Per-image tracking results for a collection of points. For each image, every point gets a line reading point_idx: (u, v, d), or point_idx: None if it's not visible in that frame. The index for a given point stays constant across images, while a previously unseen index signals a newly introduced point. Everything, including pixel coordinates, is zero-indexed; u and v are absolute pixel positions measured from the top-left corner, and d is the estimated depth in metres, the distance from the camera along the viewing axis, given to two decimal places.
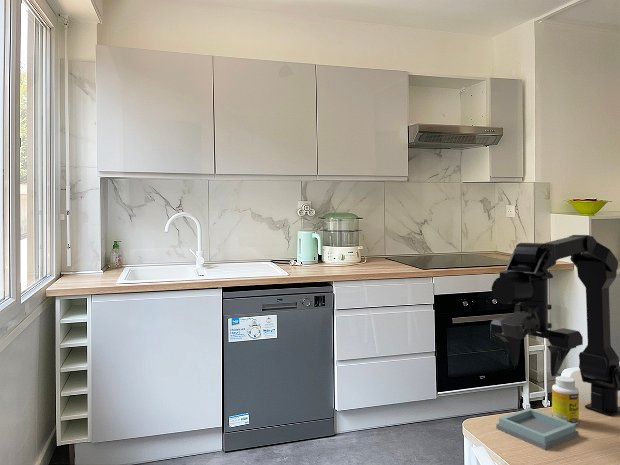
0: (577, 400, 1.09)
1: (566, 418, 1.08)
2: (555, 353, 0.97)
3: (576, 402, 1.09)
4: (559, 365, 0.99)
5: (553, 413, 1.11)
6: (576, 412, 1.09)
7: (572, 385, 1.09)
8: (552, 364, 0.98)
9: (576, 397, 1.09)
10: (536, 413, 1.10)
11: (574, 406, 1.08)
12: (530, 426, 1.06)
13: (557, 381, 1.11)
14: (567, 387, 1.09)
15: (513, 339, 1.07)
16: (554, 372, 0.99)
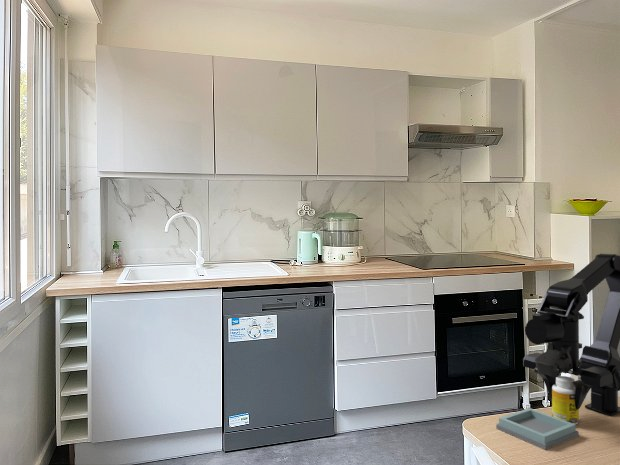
0: None
1: (566, 418, 1.08)
2: (579, 388, 1.06)
3: None
4: (583, 399, 1.08)
5: (553, 413, 1.11)
6: (576, 412, 1.09)
7: (572, 385, 1.09)
8: (576, 398, 1.07)
9: None
10: (536, 413, 1.10)
11: (574, 406, 1.08)
12: (530, 426, 1.06)
13: (557, 381, 1.11)
14: (567, 387, 1.09)
15: (551, 376, 1.14)
16: (578, 405, 1.08)
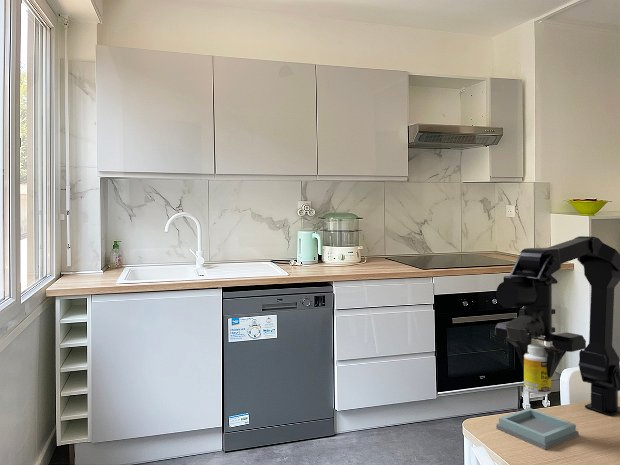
0: None
1: (538, 387, 1.03)
2: (551, 355, 1.01)
3: None
4: (555, 366, 1.03)
5: (525, 382, 1.06)
6: (548, 380, 1.03)
7: (544, 352, 1.04)
8: (548, 365, 1.02)
9: None
10: (536, 413, 1.10)
11: (546, 374, 1.03)
12: (530, 426, 1.06)
13: (529, 348, 1.05)
14: (539, 354, 1.04)
15: (524, 344, 1.08)
16: (550, 373, 1.02)
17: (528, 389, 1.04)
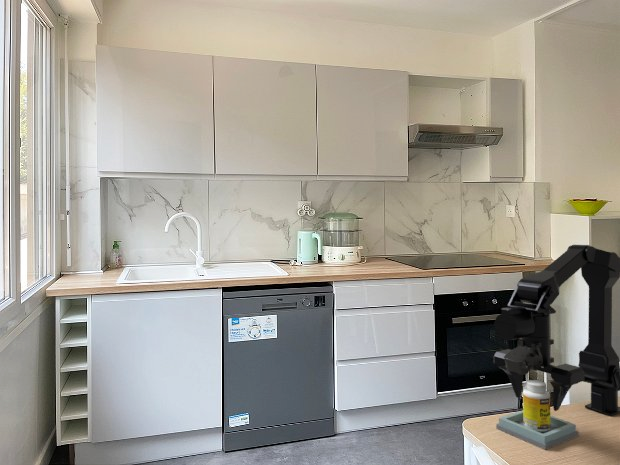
0: (548, 405, 1.03)
1: (537, 424, 1.03)
2: (557, 389, 0.99)
3: (547, 407, 1.03)
4: (561, 400, 1.01)
5: (524, 419, 1.06)
6: (547, 418, 1.03)
7: (543, 389, 1.04)
8: (554, 399, 1.01)
9: (548, 402, 1.03)
10: None
11: (545, 412, 1.03)
12: None
13: (528, 385, 1.05)
14: (538, 391, 1.04)
15: (516, 372, 1.10)
16: (556, 407, 1.01)
17: (527, 426, 1.04)
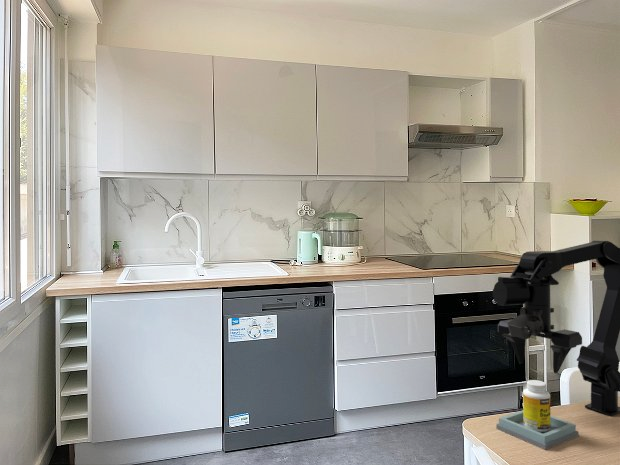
0: (548, 405, 1.03)
1: (537, 424, 1.03)
2: (557, 352, 1.07)
3: (548, 408, 1.03)
4: (561, 363, 1.09)
5: (524, 419, 1.06)
6: (547, 418, 1.03)
7: (543, 389, 1.04)
8: (554, 362, 1.09)
9: (548, 403, 1.03)
10: None
11: (545, 412, 1.03)
12: None
13: (528, 385, 1.05)
14: (538, 391, 1.04)
15: (519, 339, 1.18)
16: (556, 369, 1.09)
17: (527, 426, 1.04)
